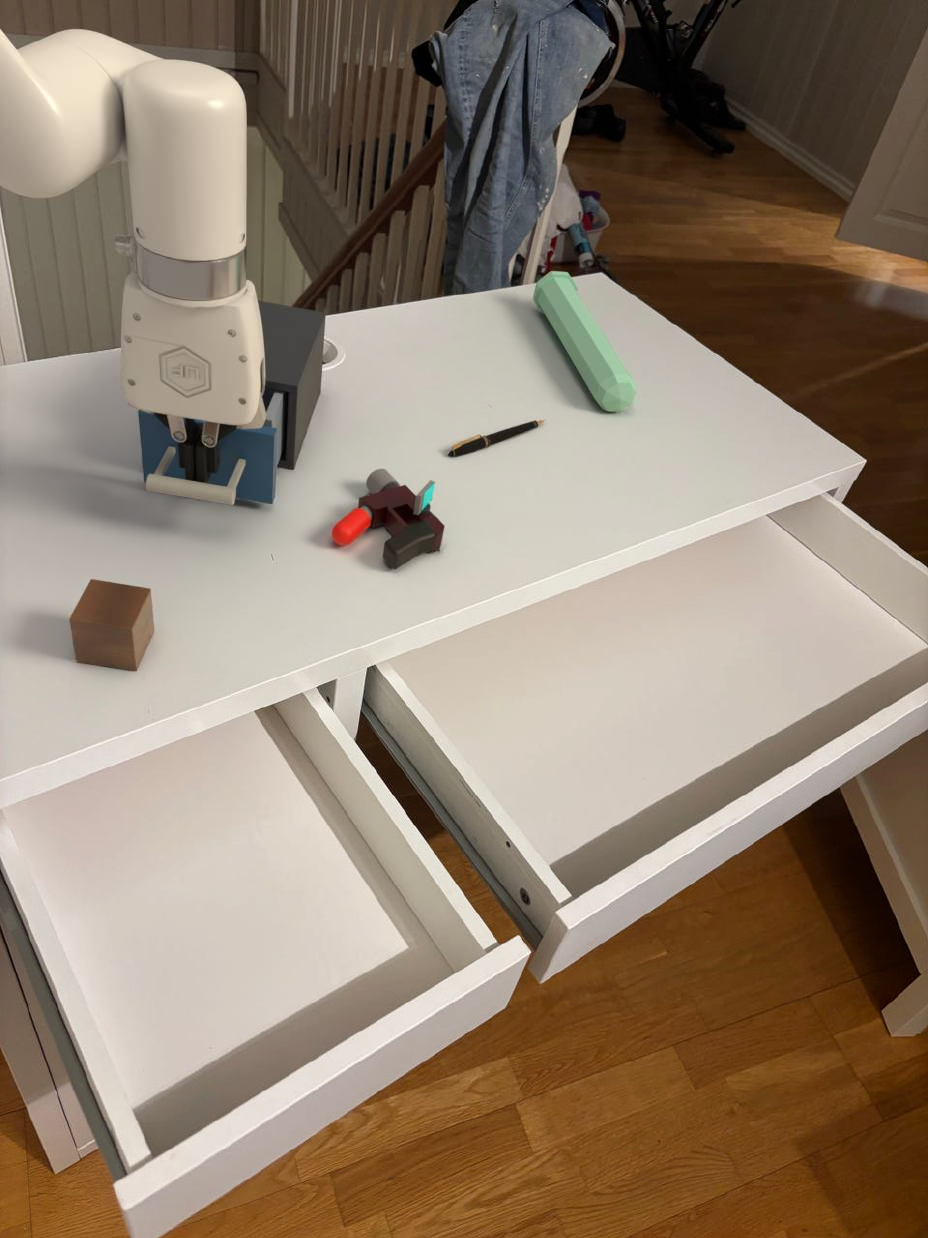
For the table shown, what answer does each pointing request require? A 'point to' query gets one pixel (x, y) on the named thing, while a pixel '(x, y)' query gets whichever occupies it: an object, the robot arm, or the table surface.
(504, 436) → the fountain pen
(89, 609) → the block
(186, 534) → the table surface
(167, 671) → the table surface
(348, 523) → the toy gun
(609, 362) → the container
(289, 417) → the cabinet
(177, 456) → the drawer
